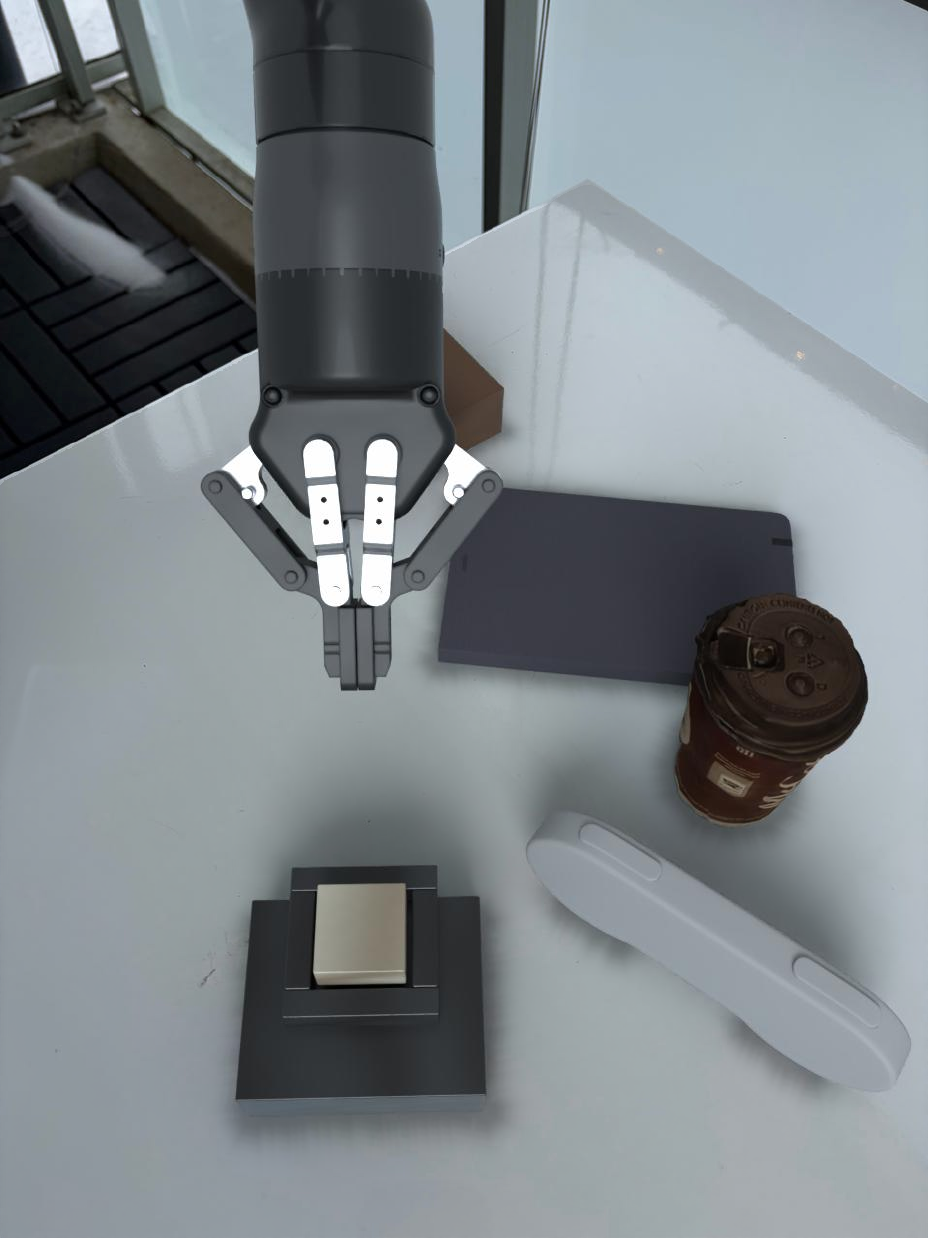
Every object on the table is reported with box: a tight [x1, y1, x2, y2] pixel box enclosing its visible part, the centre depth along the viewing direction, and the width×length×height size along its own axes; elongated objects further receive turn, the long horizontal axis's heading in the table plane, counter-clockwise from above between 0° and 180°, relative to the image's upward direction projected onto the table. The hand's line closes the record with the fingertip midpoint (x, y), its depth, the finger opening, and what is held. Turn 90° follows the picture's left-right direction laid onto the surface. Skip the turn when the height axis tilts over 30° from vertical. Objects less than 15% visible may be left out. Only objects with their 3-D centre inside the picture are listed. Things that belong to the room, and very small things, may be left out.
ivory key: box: [313, 883, 407, 985], centre depth 49 cm, size 4×4×2 cm
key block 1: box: [234, 864, 487, 1118], centre depth 51 cm, size 11×10×6 cm
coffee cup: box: [673, 593, 869, 828], centre depth 55 cm, size 9×8×13 cm
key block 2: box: [443, 327, 505, 452], centre depth 72 cm, size 12×11×6 cm
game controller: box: [525, 809, 912, 1093], centre depth 51 cm, size 20×2×8 cm, turn 55°
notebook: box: [437, 487, 797, 687], centre depth 67 cm, size 13×2×21 cm
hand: (359, 685), depth 47 cm, fingers closed
